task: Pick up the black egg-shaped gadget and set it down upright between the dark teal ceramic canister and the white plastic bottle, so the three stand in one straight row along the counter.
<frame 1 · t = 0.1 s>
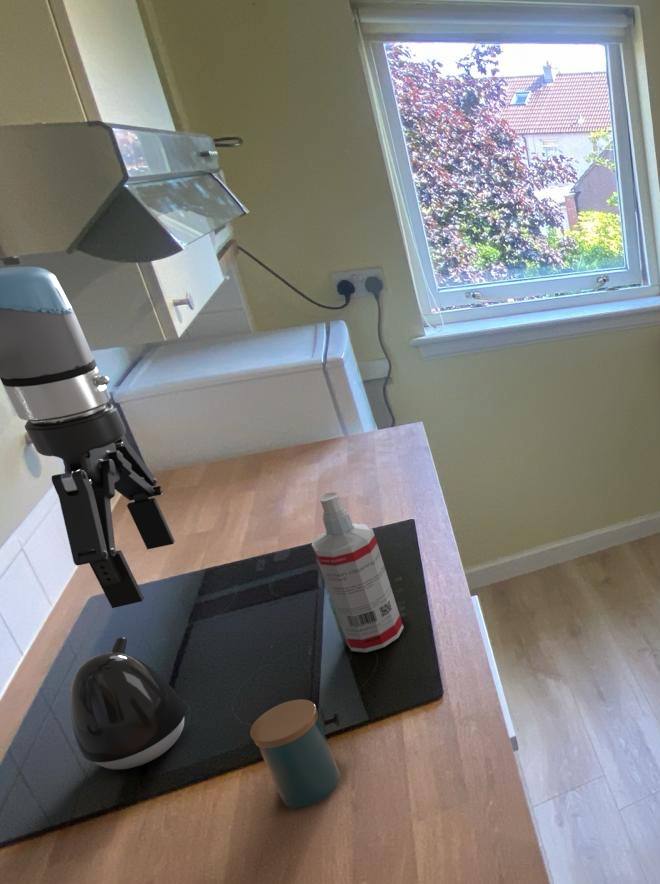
hand: (145, 572, 89), 24 cm above the worktop, tool pointing down, fingers open, 13 cm apart
white plastic bottle: (376, 637, 114), on the worktop
canister: (312, 787, 88), on the worktop
black egg-shaped gadget: (147, 750, 95), on the worktop
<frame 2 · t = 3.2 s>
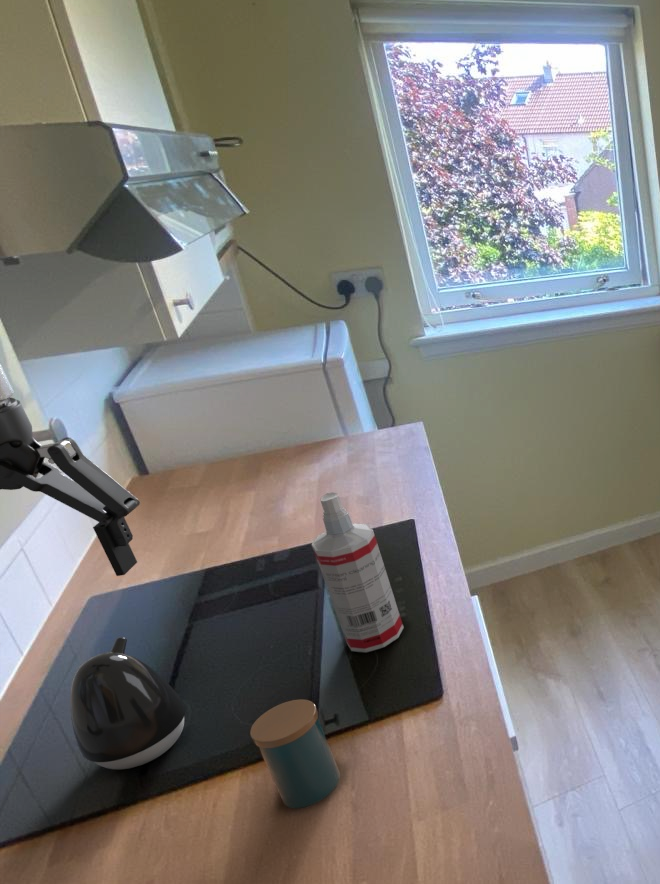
hand: (58, 579, 84), 27 cm above the worktop, tool pointing down, fingers open, 13 cm apart
nothing on the worktop moved.
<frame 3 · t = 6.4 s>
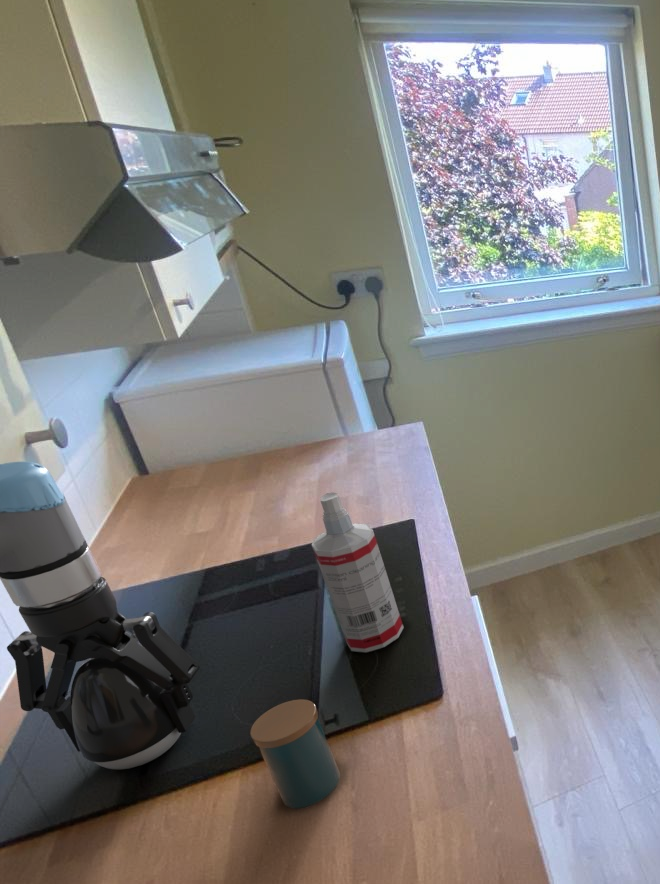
hand: (138, 733, 93), 3 cm above the worktop, tool pointing down, fingers closed on black egg-shaped gadget, 10 cm apart
black egg-shaped gadget: (147, 750, 95), on the worktop, touching gripper
everything else where it was.
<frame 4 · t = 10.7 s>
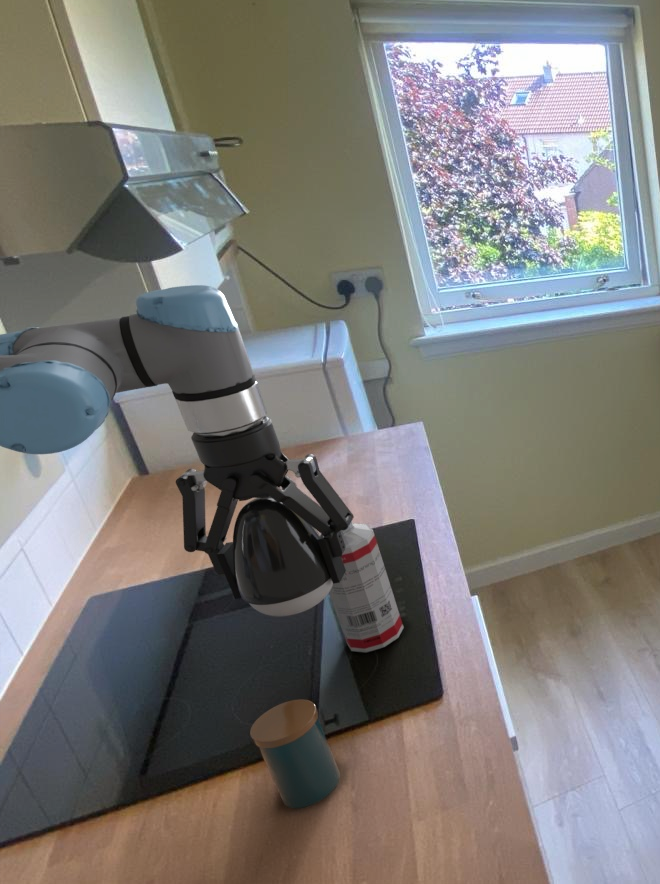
hand: (292, 584, 92), 20 cm above the worktop, tool pointing down, fingers closed on black egg-shaped gadget, 10 cm apart
black egg-shaped gadget: (299, 603, 94), point 17 cm above the worktop, touching gripper
everything else where it was.
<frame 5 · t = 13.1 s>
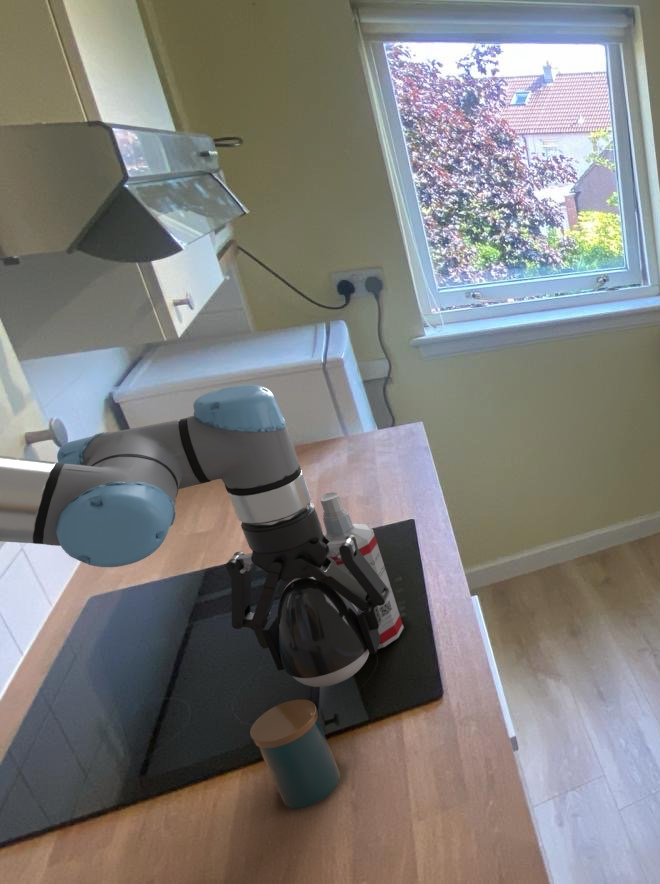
hand: (331, 655, 98), 8 cm above the worktop, tool pointing down, fingers closed on black egg-shaped gadget, 10 cm apart
black egg-shaped gadget: (337, 672, 99), point 5 cm above the worktop, touching gripper
everything else where it was.
when the fingers open (3 cm above the worktop, at t = 15.1 s): black egg-shaped gadget stays where it is, on the worktop.
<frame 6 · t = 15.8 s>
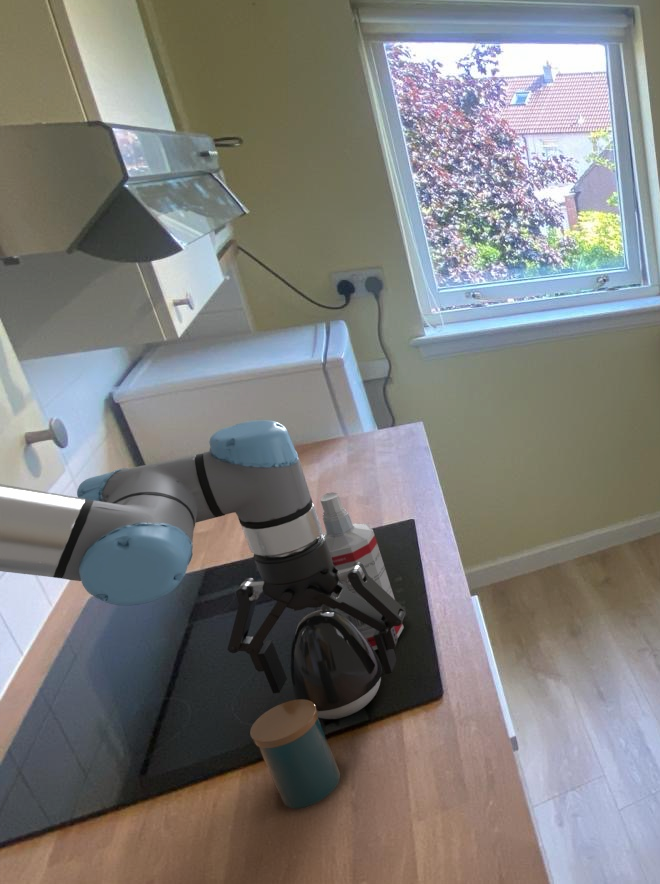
hand: (336, 676, 99), 5 cm above the worktop, tool pointing down, fingers open, 13 cm apart
black egg-shaped gadget: (348, 703, 101), on the worktop
everything else where it was.
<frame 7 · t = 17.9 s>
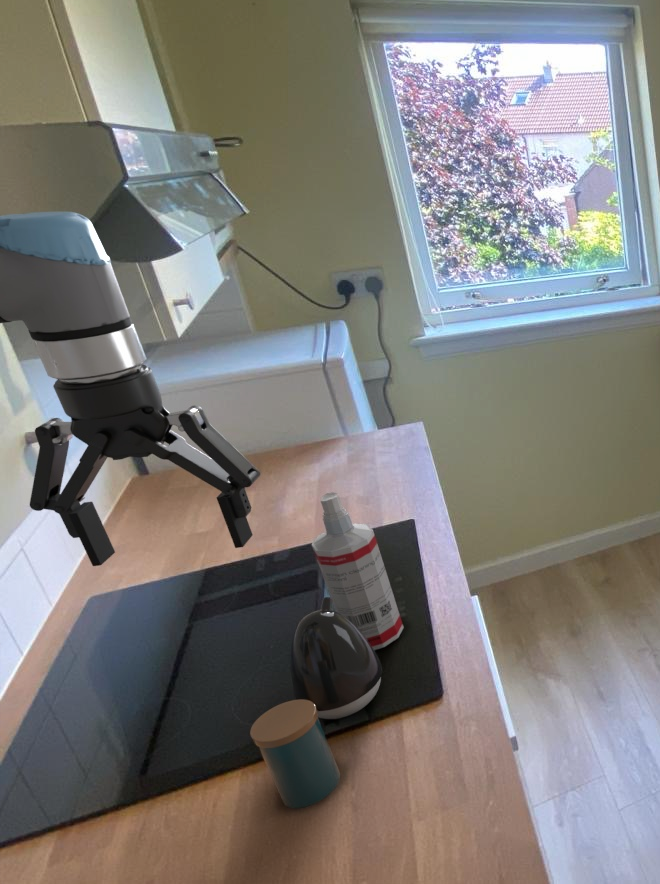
hand: (175, 550, 83), 30 cm above the worktop, tool pointing down, fingers open, 13 cm apart
nothing on the worktop moved.
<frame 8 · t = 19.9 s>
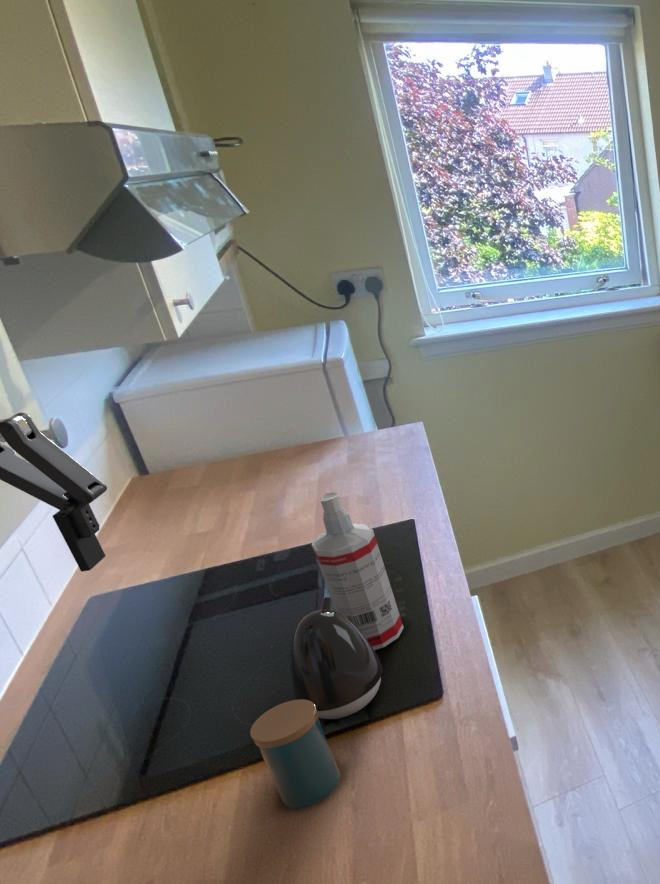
hand: (14, 575, 74), 33 cm above the worktop, tool pointing down, fingers open, 13 cm apart
nothing on the worktop moved.
at the end: black egg-shaped gadget 0.0 cm from the target spot on the worktop beside the canister, on the worktop; black egg-shaped gadget tilted 0°; white plastic bottle moved 0.2 cm from its start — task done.
